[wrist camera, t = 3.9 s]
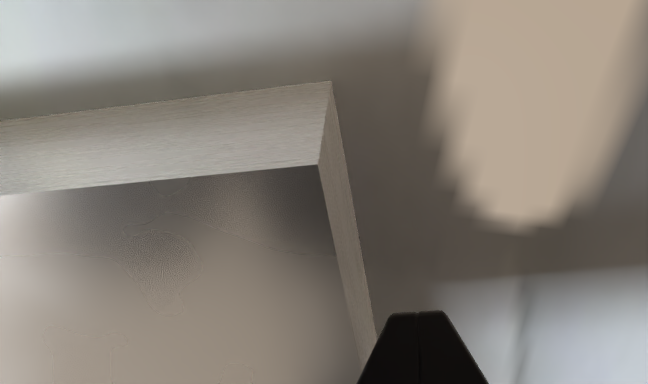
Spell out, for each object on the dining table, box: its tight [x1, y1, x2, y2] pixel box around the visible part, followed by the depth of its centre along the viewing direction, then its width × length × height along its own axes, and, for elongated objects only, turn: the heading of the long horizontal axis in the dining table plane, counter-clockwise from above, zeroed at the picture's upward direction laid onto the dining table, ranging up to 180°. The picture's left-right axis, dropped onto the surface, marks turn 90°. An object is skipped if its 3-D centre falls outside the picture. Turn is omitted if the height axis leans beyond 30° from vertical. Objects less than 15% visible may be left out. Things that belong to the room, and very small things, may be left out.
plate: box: [0, 80, 377, 384], centre depth 10 cm, size 7×7×2 cm
